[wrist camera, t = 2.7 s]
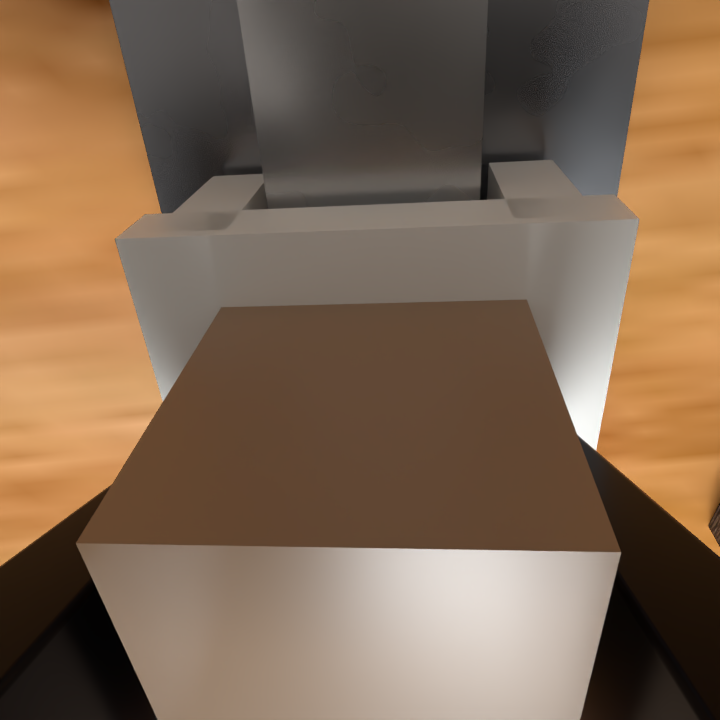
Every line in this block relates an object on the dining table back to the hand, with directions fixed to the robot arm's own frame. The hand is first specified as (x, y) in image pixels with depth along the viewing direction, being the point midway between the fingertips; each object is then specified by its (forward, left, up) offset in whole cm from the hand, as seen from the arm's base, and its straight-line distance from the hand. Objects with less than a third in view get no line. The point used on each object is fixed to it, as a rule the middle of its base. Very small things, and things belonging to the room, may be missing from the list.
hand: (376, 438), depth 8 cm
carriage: (0, 0, -4) cm, 4 cm away
